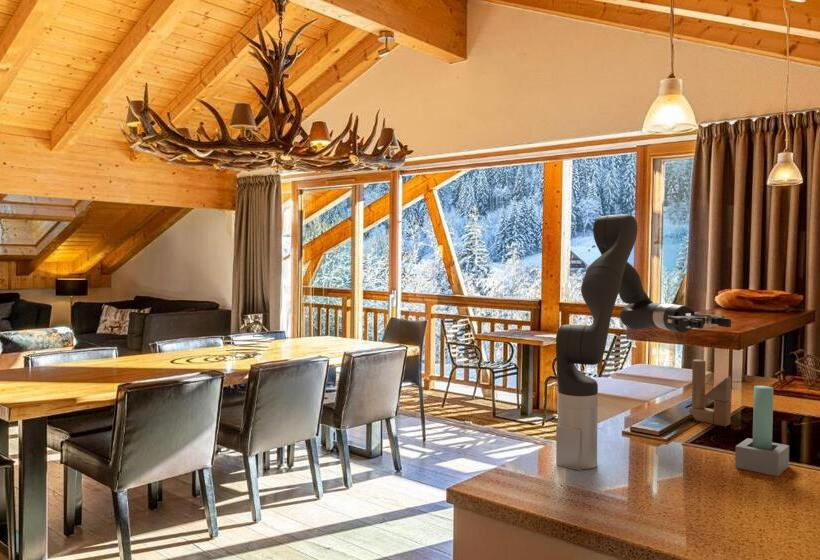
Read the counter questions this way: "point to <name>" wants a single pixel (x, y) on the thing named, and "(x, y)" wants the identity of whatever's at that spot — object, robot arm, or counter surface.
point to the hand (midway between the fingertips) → (716, 323)
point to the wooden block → (710, 397)
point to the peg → (762, 417)
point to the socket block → (762, 458)
